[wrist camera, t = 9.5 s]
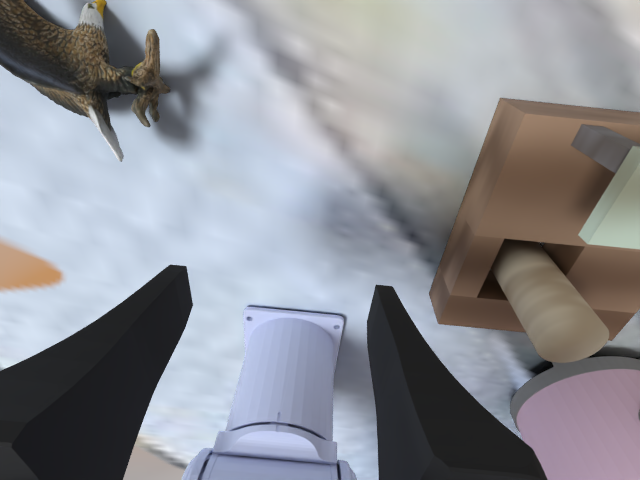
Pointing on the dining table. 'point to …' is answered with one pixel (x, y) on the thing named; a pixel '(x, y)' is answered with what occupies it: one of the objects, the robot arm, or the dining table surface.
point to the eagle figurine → (78, 65)
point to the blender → (583, 418)
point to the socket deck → (548, 212)
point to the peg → (547, 303)
